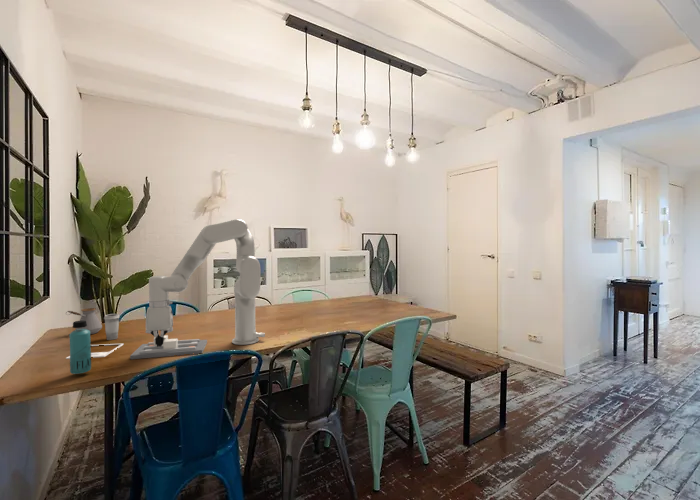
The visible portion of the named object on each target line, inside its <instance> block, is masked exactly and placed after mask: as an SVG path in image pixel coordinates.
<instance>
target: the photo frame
mask: <svg viewBox="0 0 700 500" xmlns="http://www.w3.org/2000/svg"><path fill="white" fill-rule="evenodd" d="M99 345H100V344H91V347H100V346H99ZM101 345H104V346H116V347H115V348H113V349H112V350H109V351H101V352H99V351H97V352H91V357H93V358H105V357H107V356H109V354H112V353H113V352H114V350H115V351H116V350H117V348H118V349H119V348H121V347H122V346H124V343H110V344H109V343H106V344H101ZM117 345H118V346H117ZM65 359H66V360H70V355H69V356H66V357H65Z"/></svg>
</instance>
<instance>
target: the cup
mask: <svg viewBox="0 0 700 500" xmlns="http://www.w3.org/2000/svg"><path fill="white" fill-rule="evenodd" d="M119 318H120V315H119V313H110V314H105V315H104V317H103V320H104V329H105V336H106V340H107V341H113V340H117V339H118V337H119V327H120V326H119V323H120V322H119V321H120V320H119Z"/></svg>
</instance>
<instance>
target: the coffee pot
mask: <svg viewBox="0 0 700 500" xmlns="http://www.w3.org/2000/svg"><path fill="white" fill-rule="evenodd" d="M96 310H97V309H96V308H95V307H93V308H92V307H88V308H83V309H81V312H82V313H79V312H78V311H77V312H76V311H73V310H67V311H66V312H65V315H67V316H69V315H72V314H73V315H75V316H80V319H79V321H82V320H85V321H86V323H87V326H86V327H82V328H75V330H78V329H87V330H89V331H90V335H94V334H97V333H99V331H100V330H102V329H103V325H102V323H101V321H100V319H99V318H98V316H97V314H96ZM67 313H69V314H67Z"/></svg>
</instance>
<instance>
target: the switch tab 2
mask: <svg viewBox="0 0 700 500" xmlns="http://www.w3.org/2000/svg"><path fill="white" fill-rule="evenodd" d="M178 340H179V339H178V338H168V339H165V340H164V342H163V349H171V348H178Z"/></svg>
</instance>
